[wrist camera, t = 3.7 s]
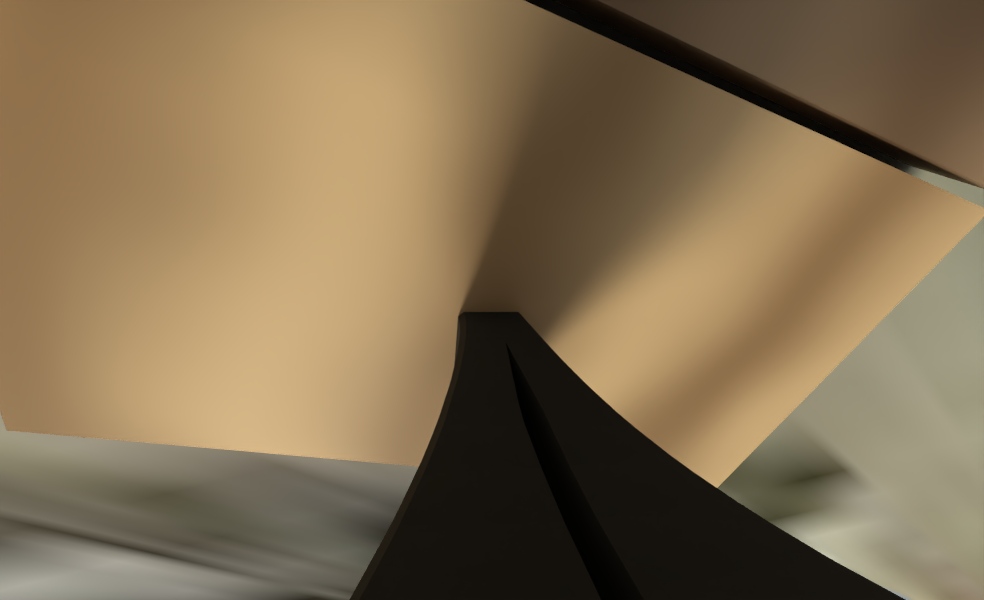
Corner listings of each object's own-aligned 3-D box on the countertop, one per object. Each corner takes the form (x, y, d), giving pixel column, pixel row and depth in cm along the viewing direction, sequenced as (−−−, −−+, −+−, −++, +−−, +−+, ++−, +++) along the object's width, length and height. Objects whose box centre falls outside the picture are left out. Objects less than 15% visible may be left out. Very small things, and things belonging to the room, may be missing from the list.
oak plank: (900, 180, 11) (989, 211, 9) (681, 441, 15) (713, 491, 14) (-46, -238, 5) (-260, -354, 4) (73, 362, 10) (6, 430, 8)
